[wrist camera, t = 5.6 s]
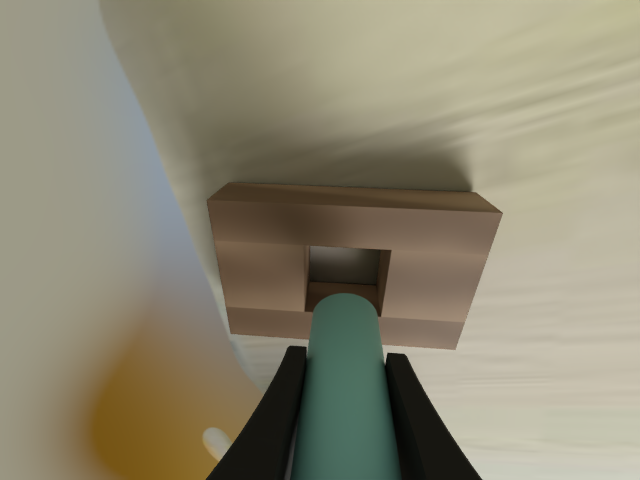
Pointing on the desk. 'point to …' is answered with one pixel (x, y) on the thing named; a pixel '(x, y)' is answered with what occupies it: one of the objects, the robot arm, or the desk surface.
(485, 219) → the hole block
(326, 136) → the desk surface
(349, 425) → the peg
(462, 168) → the desk surface
